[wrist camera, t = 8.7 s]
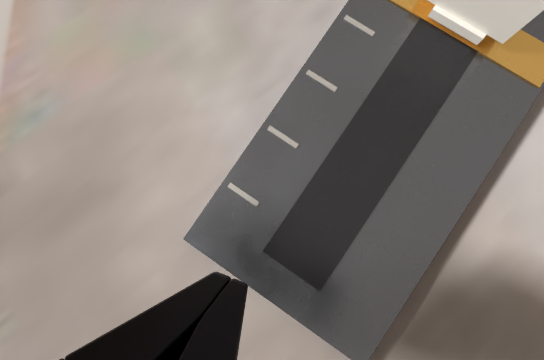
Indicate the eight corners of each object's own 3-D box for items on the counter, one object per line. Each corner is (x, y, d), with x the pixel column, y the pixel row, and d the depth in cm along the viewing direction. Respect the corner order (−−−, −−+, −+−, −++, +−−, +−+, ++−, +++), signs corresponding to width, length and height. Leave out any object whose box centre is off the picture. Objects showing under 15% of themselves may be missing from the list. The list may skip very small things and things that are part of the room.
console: (359, 359, 20) (376, 395, 16) (189, 237, 22) (165, 242, 17) (576, 20, 22) (644, -27, 18) (405, -75, 23) (430, -140, 19)
